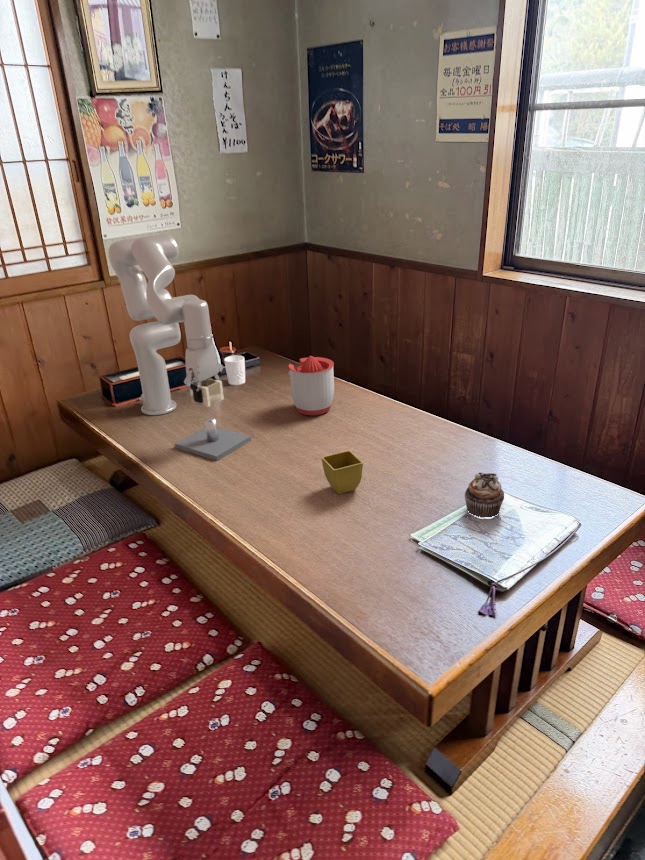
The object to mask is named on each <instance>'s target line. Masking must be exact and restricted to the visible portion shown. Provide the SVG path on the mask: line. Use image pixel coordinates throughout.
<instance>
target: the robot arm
mask: <svg viewBox="0 0 645 860" xmlns="http://www.w3.org/2000/svg"><path fill="white" fill-rule="evenodd" d="M179 252H180V250H179V245H178V242H177V241H176V239H175V238H174V237H173V236H172V235H170V234H168V233H162V234H153V235H147V236H141V237H134V238H127V239H126V238H125V239H122V240H118V241H115V242H112V243H111V244H110V245H109V248H108V258H109V263H110V265H111V266H110V267H111V268H112V270H113V271H114V273H115V276H116V277H117V279H118V282H119V284H120V287H121V291H122V295H123V298H124V303H125V306H126V310H127V314H128V315H129V317H130V319H131V320H133V321H137V322H138V321H145V320H150V319H154V318H155V319H156V320H157V321H151V322H147V323H141V324H138V325H136V326H135V327H133V328H132V329H131V330H130V332H129V340H130V344H131V346H132V349H133V352H134V355H135V359H136V364H137V369H138V375H139V380H140V385H141V391H142V394H141V395H140V397H139V398H138V400H139V401H141V402H142V403H143V404H142V406H141V407H140V408H141V413H142V414H144V415H147V416H158V415H159V416H160V415H164V414H169V413H170V412H172V411H174V410H175V409H176V408H177V407H178V406H177V402H176V401H175V400H173V399H172V395H171V389H170V384H169V377H168V371H167V365H166V361H165V359H164V358H163V356H162V355H160V354H159V353H158V352H157V351H158V350H161V349H165V348H168V347H172V346H175V345H178V344H179V343H180V342H181V338H182V334H181V328H180V324H179V323H183V324H184V331H185V338H186V345H187V348H186V349H185V373H186V374H185V375H186V377H185V378H184V380H183V383H184V384H185V385H186V386H187V387H188V388H189V390H190V389H191V390H193V396H194V401H195V402H199V403H202V402H203V398H202V391H201V390H200V386H201V381H204V380H206V379H208V378H210V379H214V380H219V381H221V376H222V373H223V372H222V371H223V369H224V365H223V364H221V363H220V362H219V358H218V352H217V349H216V346H215V344H214V342H213V338H214V334H212V326H211V319H210V311H209V305H208V302H207V301H206V300H203V299H200V298H199V297H198V296H197V295H194V294H186V295H180V296H174V297H173V296H172V295H171V292H170V291H169V290H167V289H166V287H168V286H169V285H170V284H171V283H172V282H173V281H174V278H175V276H176V271H175V268H174V266H173V265H172V264H171V261H175V260H177V259H178V257H179ZM136 266H139V268H140V269H139V268H138V267H136ZM147 280H148V282H147ZM196 382H197V386H195V384H196Z"/></svg>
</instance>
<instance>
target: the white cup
mask: <svg viewBox="0 0 645 860" xmlns="http://www.w3.org/2000/svg"><path fill="white" fill-rule="evenodd" d="M223 360H224V365H225V367H224V368H225V371H226V376H227V383H228V384H229V385H231V386H241V385H244V384H245V383H246V364H245V363H246V362H245V361H246V360H245V356H243V355H240V354H239V355H238V354H237V355H229V356H226V357H225V358H224V359H223Z"/></svg>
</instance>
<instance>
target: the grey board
mask: <svg viewBox="0 0 645 860" xmlns="http://www.w3.org/2000/svg"><path fill="white" fill-rule="evenodd" d="M217 431H218V438H219V440H218V441H216V442H208V441H207V435H206V428H205V427H203V428H201V429H200V430H197V431H196V432H194V433H192V434H190V435H188V436H186V437H185V438H183V439H181V440H179V441H177V442H175V443H174V447H175V449H178V450H181V451H184V452H186V453H187V452H188V453H190V452H191V453H190V454H194V455H197V456H201V457H204V458H207V459H209V460H213V461H215V462H218V461H220V460H221V459H223V458H224V457H226V456H228V455H229V454H231V453H232V451H233V452H235V451H236V450H237V448H238V449H240V448H241V447H242V445H243V446H244V445H246V444H248V443H249V442H251V441H252V437H251V435H249V434H244V433H241V432H236V431H235V430H234V431H233V430H230V429H227V428H222V427H218V426H217ZM248 441H249V442H248ZM245 443H246V444H245ZM240 446H241V447H240Z"/></svg>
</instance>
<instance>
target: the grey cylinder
mask: <svg viewBox="0 0 645 860" xmlns="http://www.w3.org/2000/svg"><path fill="white" fill-rule="evenodd" d="M217 427H218V426H217V419H216V418H215V417H207V418H205V419H204V428H206V435H207V441H208V442H216V441H218V440H219V438H218V431H217Z"/></svg>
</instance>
